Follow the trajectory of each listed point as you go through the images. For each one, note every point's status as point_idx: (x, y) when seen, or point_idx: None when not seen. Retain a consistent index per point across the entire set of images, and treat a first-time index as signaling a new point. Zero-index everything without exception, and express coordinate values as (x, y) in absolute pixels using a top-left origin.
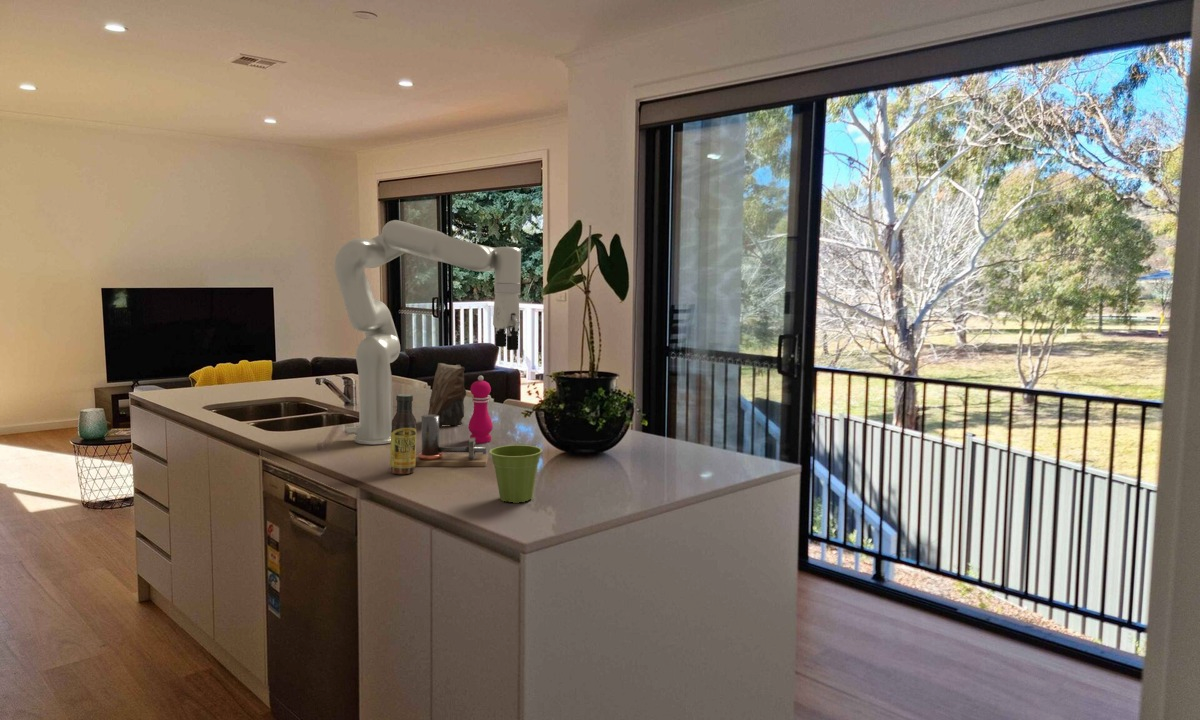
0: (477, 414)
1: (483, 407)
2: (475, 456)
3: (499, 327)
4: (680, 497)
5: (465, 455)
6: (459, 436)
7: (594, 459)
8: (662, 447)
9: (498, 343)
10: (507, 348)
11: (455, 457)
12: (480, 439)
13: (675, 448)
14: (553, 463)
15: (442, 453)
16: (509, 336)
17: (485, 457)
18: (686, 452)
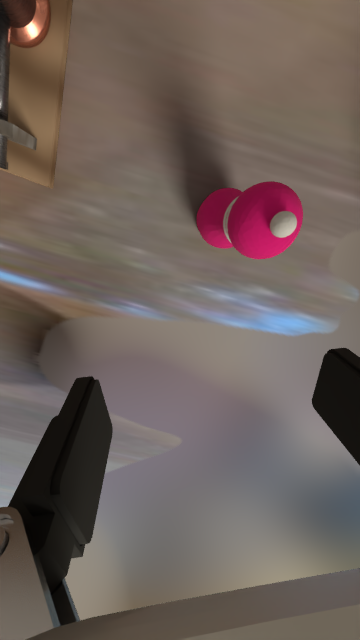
0: (221, 206)
1: (222, 224)
2: (26, 148)
3: (227, 626)
4: None
5: (38, 124)
6: None
7: (30, 360)
8: None
9: (338, 375)
10: (77, 381)
11: (16, 88)
12: (198, 212)
13: None
14: (2, 297)
15: (11, 38)
16: (32, 504)
17: (13, 170)
18: None
